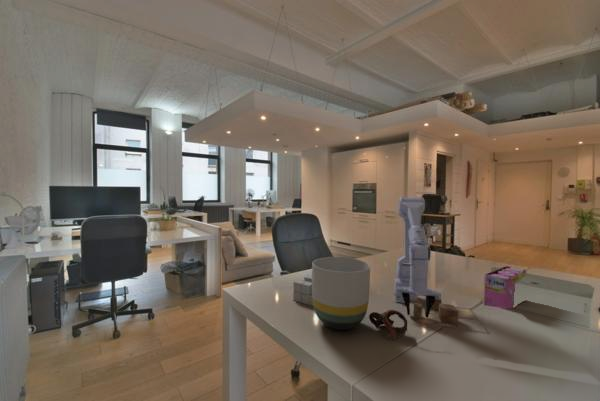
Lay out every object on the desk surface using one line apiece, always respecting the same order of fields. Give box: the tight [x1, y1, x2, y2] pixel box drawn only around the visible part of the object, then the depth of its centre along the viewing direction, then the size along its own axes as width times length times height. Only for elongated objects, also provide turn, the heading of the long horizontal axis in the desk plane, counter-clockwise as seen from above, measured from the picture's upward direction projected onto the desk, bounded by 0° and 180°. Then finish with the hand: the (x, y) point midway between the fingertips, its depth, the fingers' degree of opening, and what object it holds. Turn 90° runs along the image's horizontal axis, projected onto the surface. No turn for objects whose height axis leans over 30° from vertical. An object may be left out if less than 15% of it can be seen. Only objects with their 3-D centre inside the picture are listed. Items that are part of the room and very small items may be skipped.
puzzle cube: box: [293, 274, 314, 307], centre depth 116 cm, size 12×12×8 cm
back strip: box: [432, 297, 478, 319], centre depth 103 cm, size 14×8×5 cm, turn 73°
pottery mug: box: [368, 309, 408, 341], centre depth 89 cm, size 12×10×8 cm
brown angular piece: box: [412, 302, 459, 328], centre depth 96 cm, size 14×8×5 cm, turn 73°
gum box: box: [483, 266, 527, 310], centre depth 115 cm, size 24×8×14 cm, turn 125°
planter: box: [311, 256, 371, 331], centre depth 93 cm, size 20×20×21 cm
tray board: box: [422, 302, 491, 335], centre depth 98 cm, size 17×20×2 cm
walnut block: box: [438, 303, 459, 327], centre depth 95 cm, size 5×5×5 cm
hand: (417, 315), depth 97 cm, fingers open, 5 cm apart
